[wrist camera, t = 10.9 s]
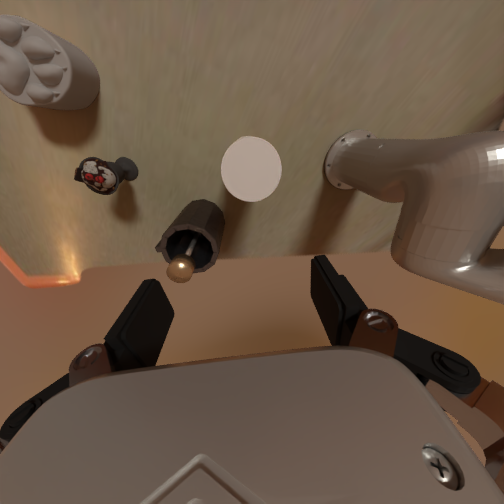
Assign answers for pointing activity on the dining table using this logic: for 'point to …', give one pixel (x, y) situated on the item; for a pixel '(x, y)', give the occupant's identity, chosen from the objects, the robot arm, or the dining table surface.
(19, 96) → the lumpy-topped squat cylinder
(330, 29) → the dining table surface
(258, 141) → the cylindrical container
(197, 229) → the press carafe
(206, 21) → the dining table surface
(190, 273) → the plunger
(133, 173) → the sundae
